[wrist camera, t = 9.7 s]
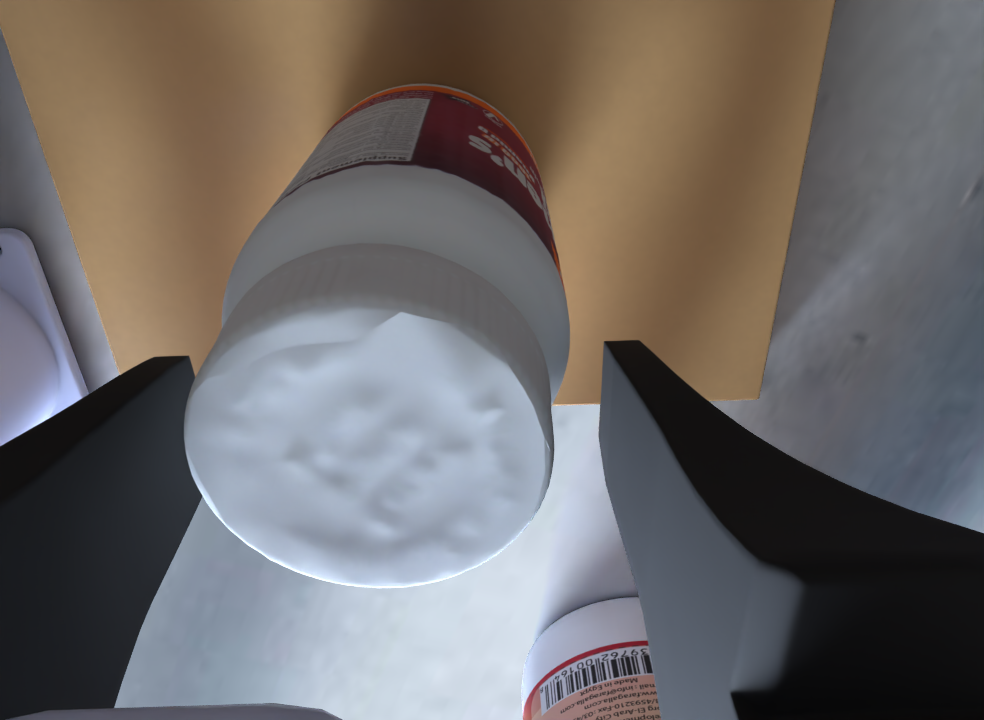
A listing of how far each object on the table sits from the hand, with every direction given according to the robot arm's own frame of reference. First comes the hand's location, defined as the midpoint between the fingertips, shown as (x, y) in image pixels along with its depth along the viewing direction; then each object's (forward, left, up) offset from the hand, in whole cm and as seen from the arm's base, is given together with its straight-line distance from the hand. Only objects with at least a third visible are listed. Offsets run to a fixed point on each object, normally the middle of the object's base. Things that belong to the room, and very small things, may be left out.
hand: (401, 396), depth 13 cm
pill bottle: (0, +1, -9) cm, 9 cm away
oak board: (0, +1, -10) cm, 10 cm away
